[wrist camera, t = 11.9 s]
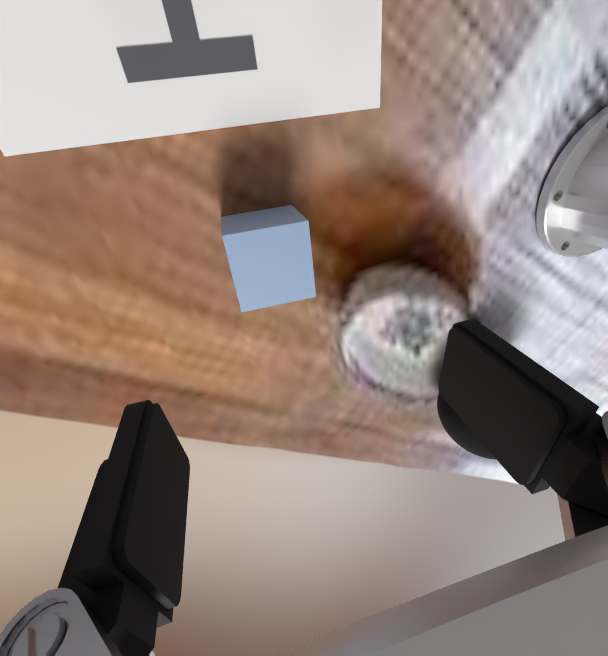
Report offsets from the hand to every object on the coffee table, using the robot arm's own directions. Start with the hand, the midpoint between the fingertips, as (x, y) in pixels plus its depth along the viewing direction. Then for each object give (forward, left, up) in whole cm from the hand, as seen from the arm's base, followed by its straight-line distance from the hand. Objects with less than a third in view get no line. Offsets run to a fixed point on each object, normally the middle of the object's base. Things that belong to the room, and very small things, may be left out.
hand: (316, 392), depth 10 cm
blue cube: (0, 0, -16) cm, 16 cm away
